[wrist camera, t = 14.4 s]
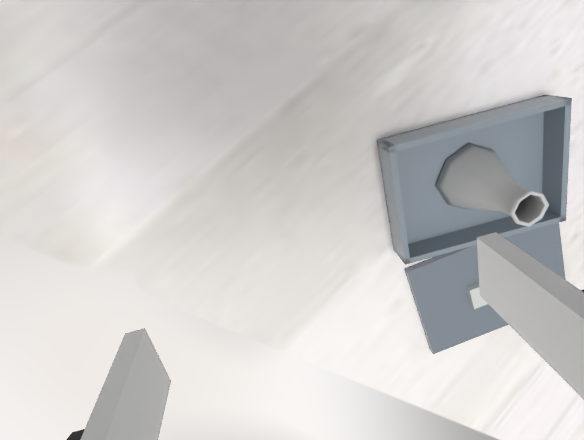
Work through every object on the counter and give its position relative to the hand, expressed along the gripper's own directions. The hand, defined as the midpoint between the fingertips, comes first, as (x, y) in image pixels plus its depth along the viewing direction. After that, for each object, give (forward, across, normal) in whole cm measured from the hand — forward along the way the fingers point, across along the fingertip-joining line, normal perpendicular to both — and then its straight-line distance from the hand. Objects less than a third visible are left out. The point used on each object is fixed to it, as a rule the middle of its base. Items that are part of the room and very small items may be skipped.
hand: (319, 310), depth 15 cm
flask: (+26, +20, -8) cm, 34 cm away
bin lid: (+27, +22, -23) cm, 42 cm away
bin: (+27, +20, -8) cm, 34 cm away
